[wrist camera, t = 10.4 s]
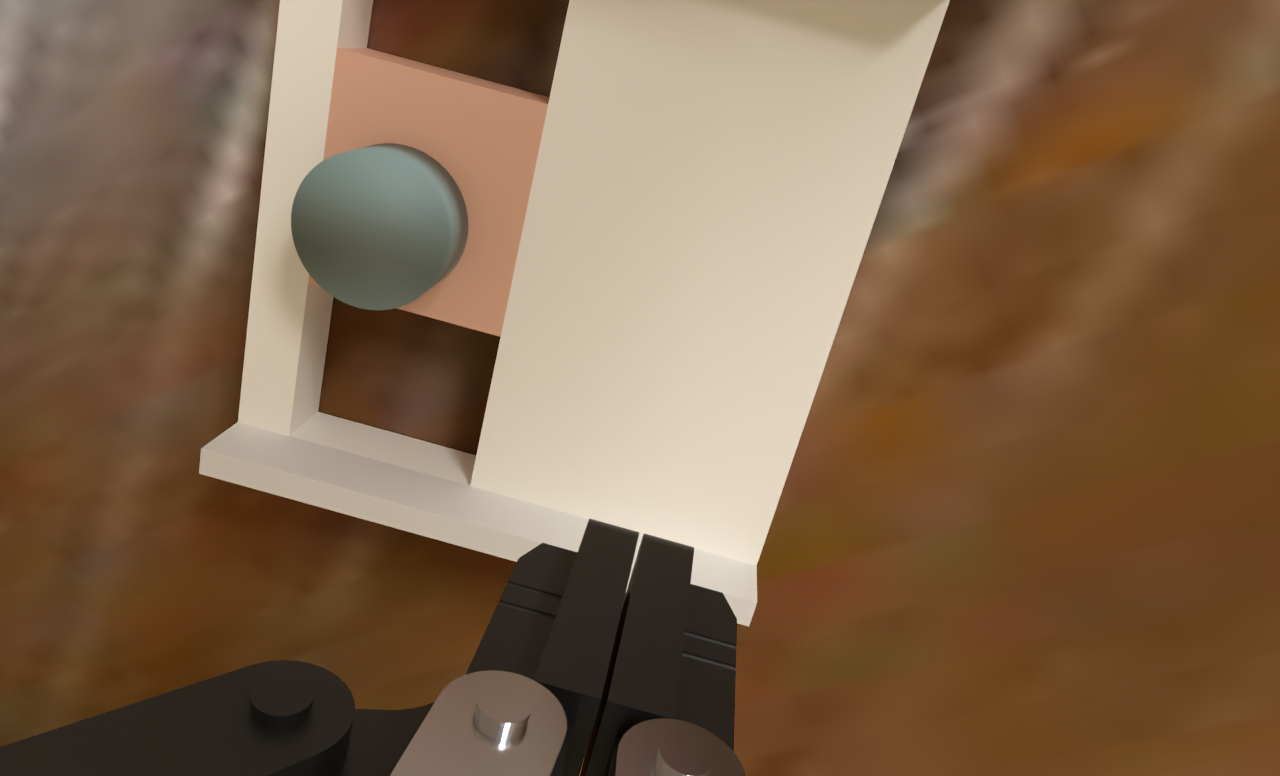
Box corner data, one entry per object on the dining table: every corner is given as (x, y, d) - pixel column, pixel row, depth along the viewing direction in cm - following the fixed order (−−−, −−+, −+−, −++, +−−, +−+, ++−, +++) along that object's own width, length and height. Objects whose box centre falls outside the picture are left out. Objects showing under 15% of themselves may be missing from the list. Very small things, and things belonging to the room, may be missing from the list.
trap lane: (337, -196, 30) (259, -242, 25) (946, -34, 29) (984, -50, 25) (267, 420, 37) (198, 473, 33) (749, 554, 37) (748, 626, 32)
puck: (331, 127, 31) (297, 134, 28) (478, 162, 31) (456, 171, 28) (318, 273, 32) (285, 290, 30) (457, 306, 32) (434, 326, 30)
